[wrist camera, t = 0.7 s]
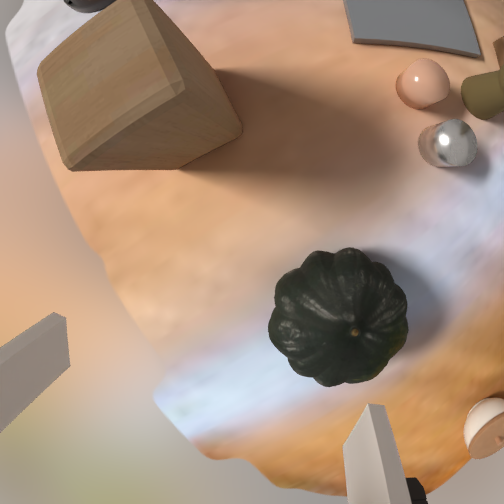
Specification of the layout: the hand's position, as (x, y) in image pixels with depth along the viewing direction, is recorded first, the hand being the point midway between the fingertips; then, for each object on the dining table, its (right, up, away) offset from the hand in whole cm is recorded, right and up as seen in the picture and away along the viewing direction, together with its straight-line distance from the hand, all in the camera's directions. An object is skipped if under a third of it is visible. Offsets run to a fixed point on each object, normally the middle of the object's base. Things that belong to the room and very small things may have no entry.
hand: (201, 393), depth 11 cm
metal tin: (+24, +18, +20) cm, 36 cm away
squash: (+12, 0, +26) cm, 29 cm away
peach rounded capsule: (+21, +25, +19) cm, 38 cm away
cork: (+31, +26, +17) cm, 44 cm away
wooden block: (-5, +21, +23) cm, 32 cm away
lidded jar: (+43, -23, +27) cm, 56 cm away
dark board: (+22, +40, +15) cm, 48 cm away
